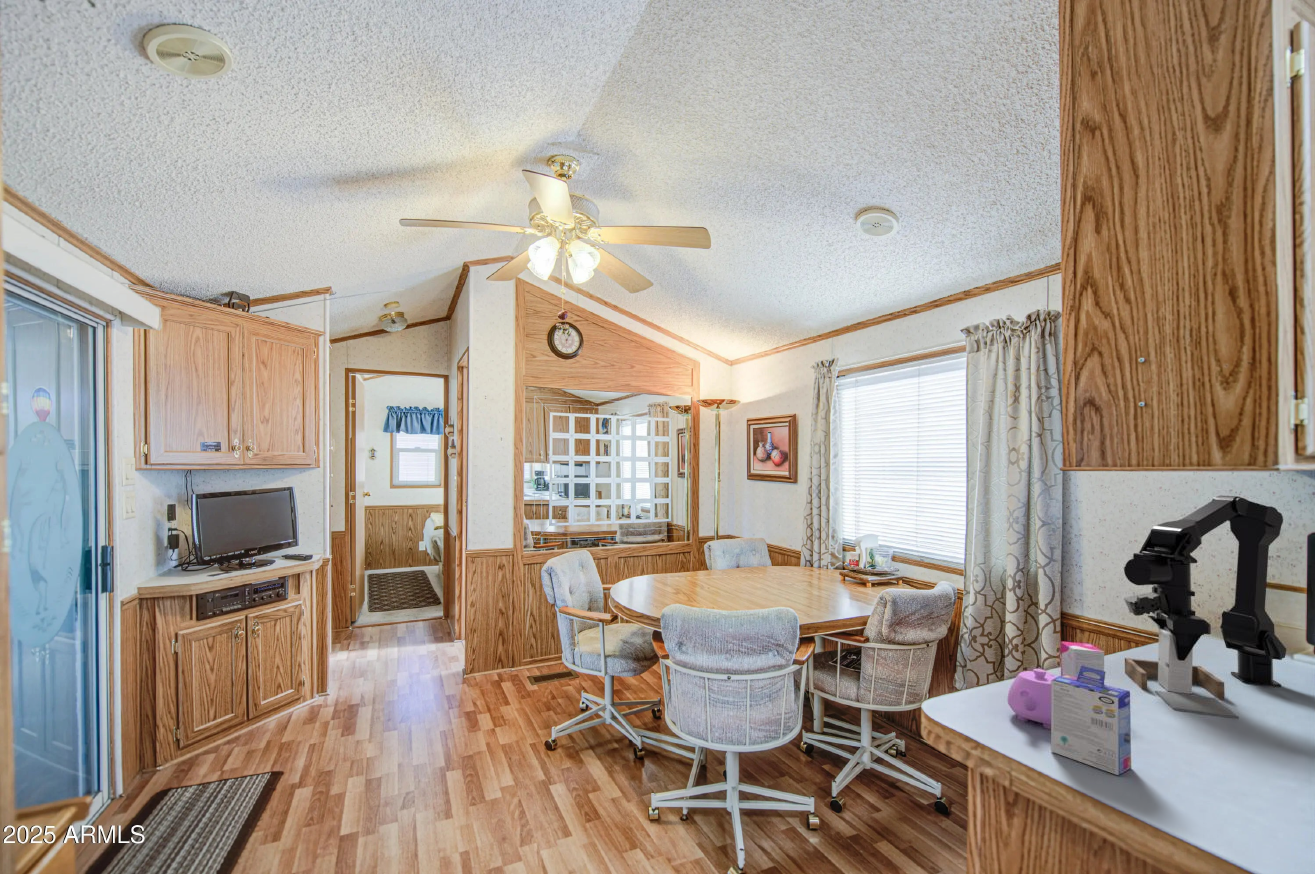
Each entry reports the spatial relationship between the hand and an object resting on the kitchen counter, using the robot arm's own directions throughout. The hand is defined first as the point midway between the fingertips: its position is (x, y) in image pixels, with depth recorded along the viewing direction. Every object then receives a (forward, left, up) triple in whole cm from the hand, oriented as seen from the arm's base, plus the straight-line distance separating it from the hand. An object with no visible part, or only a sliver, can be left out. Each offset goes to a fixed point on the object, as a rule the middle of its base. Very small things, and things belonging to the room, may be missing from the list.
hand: (1175, 655), depth 132 cm
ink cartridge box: (+46, -26, -7) cm, 53 cm away
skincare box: (0, 0, -7) cm, 7 cm away
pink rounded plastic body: (+32, -31, -7) cm, 45 cm away
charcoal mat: (+9, 0, -7) cm, 12 cm away
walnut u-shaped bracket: (-2, 0, -7) cm, 7 cm away
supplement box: (+18, -21, -7) cm, 29 cm away
